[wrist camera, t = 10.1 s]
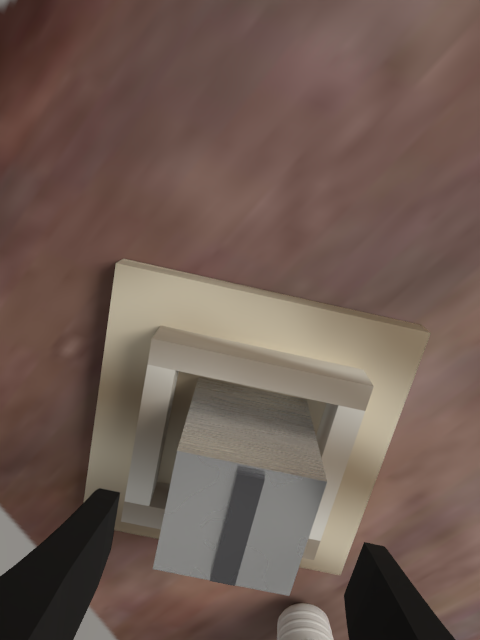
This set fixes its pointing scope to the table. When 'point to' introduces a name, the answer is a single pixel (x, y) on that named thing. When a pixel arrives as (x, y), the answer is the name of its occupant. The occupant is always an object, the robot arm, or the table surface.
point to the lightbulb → (303, 623)
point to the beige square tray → (248, 371)
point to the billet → (242, 489)
